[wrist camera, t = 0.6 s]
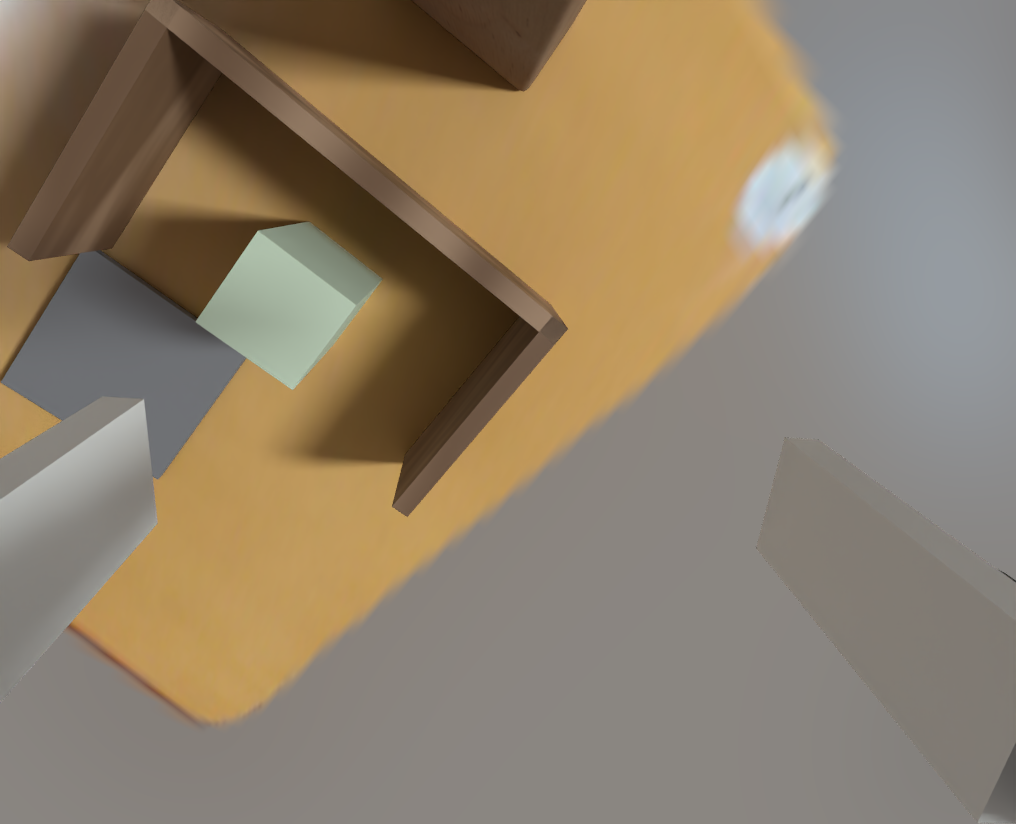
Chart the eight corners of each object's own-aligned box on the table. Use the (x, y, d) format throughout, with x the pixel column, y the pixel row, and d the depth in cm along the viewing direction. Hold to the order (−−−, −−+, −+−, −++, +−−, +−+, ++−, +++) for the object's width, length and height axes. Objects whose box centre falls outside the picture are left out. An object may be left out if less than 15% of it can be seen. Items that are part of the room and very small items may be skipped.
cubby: (95, 236, 35) (7, 246, 28) (222, 29, 32) (157, -13, 25) (417, 463, 40) (407, 517, 34) (550, 304, 37) (568, 328, 31)
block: (259, 291, 36) (195, 322, 28) (309, 221, 35) (258, 230, 27) (332, 345, 38) (292, 390, 29) (382, 278, 36) (356, 305, 28)
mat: (6, 380, 37) (0, 382, 37) (90, 243, 35) (85, 244, 34) (161, 476, 40) (157, 479, 39) (248, 354, 37) (245, 356, 37)
